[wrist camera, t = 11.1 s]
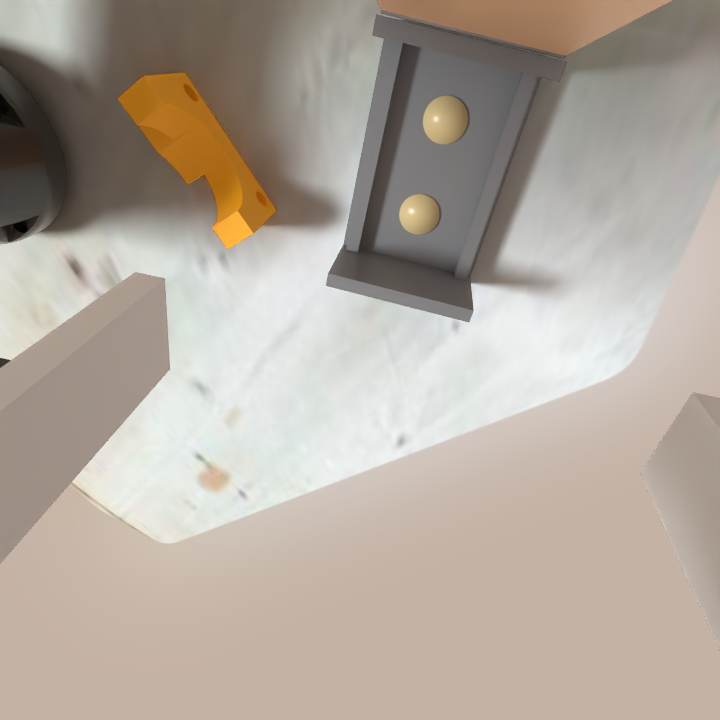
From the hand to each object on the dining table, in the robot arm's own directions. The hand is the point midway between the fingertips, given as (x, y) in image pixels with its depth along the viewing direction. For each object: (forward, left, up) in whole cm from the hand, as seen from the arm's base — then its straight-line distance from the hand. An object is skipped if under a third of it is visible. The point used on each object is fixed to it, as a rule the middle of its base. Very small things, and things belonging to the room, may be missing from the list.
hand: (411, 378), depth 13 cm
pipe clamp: (-18, -4, -31) cm, 36 cm away
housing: (0, -1, -31) cm, 31 cm away
